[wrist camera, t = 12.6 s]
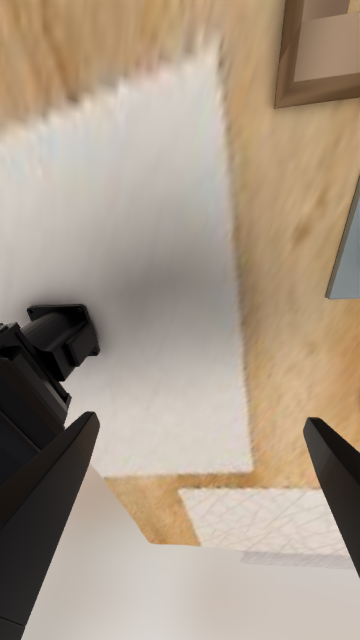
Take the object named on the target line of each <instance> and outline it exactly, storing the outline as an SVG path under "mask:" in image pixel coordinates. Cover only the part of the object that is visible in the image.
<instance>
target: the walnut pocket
mask: <svg viewBox="0 0 360 640" xmlns="http://www.w3.org/2000/svg"><path fill="white" fill-rule="evenodd" d="M349 2H350V0H286V5H285V15H284V24H283V33H282V42H281V52H280V61H279V70H278V80H277V89H276V98H275V107H274V108H281V107H288V106H296V105H303V104H311V103H318V102H326V101H333V100H341V99H349V98H356V97H360V12H354V13H348V14H347V12H348V7H349Z"/></svg>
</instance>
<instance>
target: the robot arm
mask: <svg viewBox="0 0 360 640" xmlns="http://www.w3.org/2000/svg"><path fill="white" fill-rule="evenodd" d="M79 308H80V309H82V311H81V310H80V309H79ZM32 310H33V311H34V312H33V311H32ZM27 312H28V315H29V317H30V319H31V321H32V322H31V323H29V324H28V325H26V326H25V327H23V328H22V329H20V328H21V327H20V326H19V325H18V323H17V322H15V323H10V324H6V325H3V323H0V640H21V638H22V635H23V633H24V630H25V626H26V624H27V622H28V619H29V616H30V614H31V611H32V609H33V607H34V604H35V601H36V599H37V596H38V594H39V591H40V589H41V586H42V583H43V581H44V578H45V576H46V573H47V571H48V568H49V566H50V563H51V561H52V558H53V555H54V553H55V550H56V548H57V545H58V543H59V540H60V537H61V535H62V532H63V530H64V527H65V525H66V522H67V520H68V517H69V515H70V512H71V509H72V507H73V504H74V502H75V499H76V497H77V494H78V492H79V489H80V486H81V484H82V481H83V479H84V476H85V474H86V471H87V468H88V466H89V463H90V459H91V456H92V453H93V449H94V446H95V442H96V439H97V435H98V432H99V428H100V422H99V420H98V417H97V415H96V413H95V412H89V411H87V412H85V413H83V414H82V415H81V416H80V417H79V418H78V419H77V420H75V421H74V422H73V423H72V424H71V425H70V426H69V427H68V428H66V429H65V426H64V423H65V420H66V417H67V414H68V413H67V411H68V408H69V405H70V401H71V398H72V397H71V396H70V394H69V393H67V392H66V391H65V389H64V388H63V387H62V385H61V384H60V383H59V382H63V381H65V380H66V379H67V377H68V376H69V375H70V374H71V372H72V371H73V370H74V369H75V367H79V366H80V365H81V363H82V362H83V361H84V359H85V358H86V357H87V356H97V355H98V354H99V352H100V350H99V347H98V344H97V339H96V336H95V333H94V330H93V326H92V324H91V322H90V319H89V316H88V313H87V310H86V307H85V306H84V305H81V304H76V305H48V306H31V307H29V308H28V309H27ZM94 351H95V352H94ZM303 434H304V438H305V441H306V444H307V447H308V450H309V454H310V457H311V460H312V463H313V466H314V469H315V472H316V475H317V478H318V481H319V483H320V486H321V488H322V490H323V493H324V495H325V498H326V500H327V502H328V505H329V507H330V509H331V512H332V514H333V516H334V519H335V521H336V523H337V526H338V528H339V531H340V533H341V535H342V538H343V540H344V542H345V545H346V547H347V549H348V552H349V554H350V556H351V559H352V561H353V563H354V566H355V568H356V571H357V573H358V575H359V578H360V453H359V452H358V451H357V450H356V449H355V448H354V447H353V446H351V445H350V444H349V443H348V442H347V441H346V440H345V439H343V438H342V437H341V436H340V435H339V434H338V433H337V432H335V431H334V430H333V429H332V428H331V427H330V426H329V425H327V424H326V423H325V422H324V421H323V420H322V419H320V418H318V417H308V418H307V420H306V423H305V426H304V429H303Z"/></svg>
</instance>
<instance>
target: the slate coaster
mask: <svg viewBox="0 0 360 640" xmlns="http://www.w3.org/2000/svg"><path fill="white" fill-rule="evenodd" d="M326 298H328V299H357V298H360V178H359V182H358V185H357V189H356V192H355V196H354V199H353V203H352V206H351V210H350V213H349V217H348V220H347V223H346V227H345V230H344V234H343V237H342V241H341V244H340V248H339V251H338V255H337V258H336V262H335V265H334V269H333V272H332V276H331V279H330V283H329V286H328V290H327V293H326Z"/></svg>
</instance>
